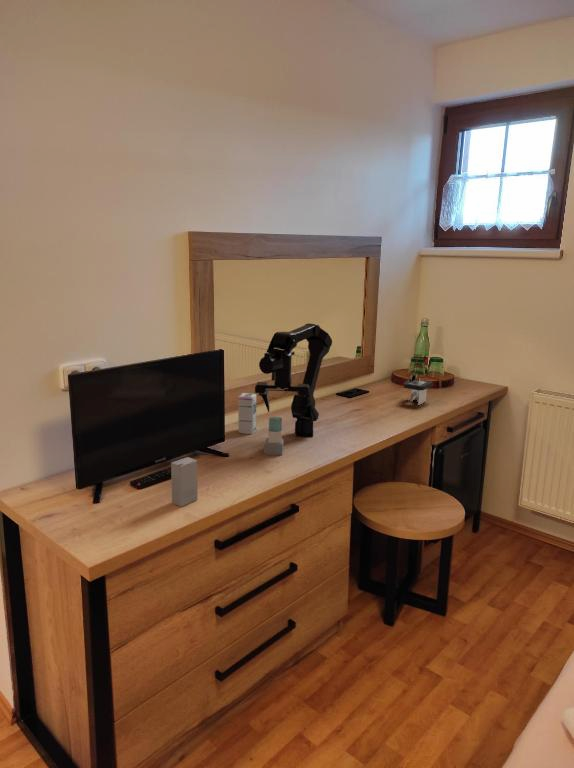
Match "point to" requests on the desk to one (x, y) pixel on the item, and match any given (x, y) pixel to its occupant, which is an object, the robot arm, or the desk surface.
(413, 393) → the black-topped pedestal
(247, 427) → the syrup box
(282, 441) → the base block
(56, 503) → the desk surface
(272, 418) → the teal cylinder
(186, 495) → the skincare box
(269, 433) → the top block
